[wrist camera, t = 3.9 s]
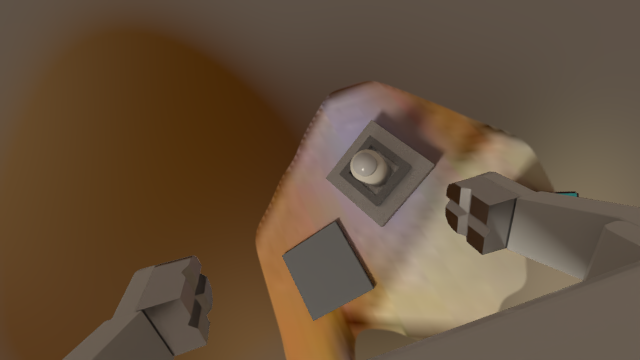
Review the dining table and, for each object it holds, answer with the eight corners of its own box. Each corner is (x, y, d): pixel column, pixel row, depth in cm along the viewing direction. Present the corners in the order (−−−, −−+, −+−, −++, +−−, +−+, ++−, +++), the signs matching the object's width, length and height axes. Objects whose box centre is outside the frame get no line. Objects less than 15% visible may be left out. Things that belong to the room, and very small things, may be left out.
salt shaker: (396, 175, 38) (387, 167, 32) (372, 191, 39) (358, 187, 33) (380, 152, 40) (368, 141, 33) (357, 168, 41) (342, 160, 34)
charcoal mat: (374, 287, 40) (373, 288, 39) (315, 319, 43) (313, 320, 42) (336, 221, 43) (335, 221, 43) (283, 255, 46) (281, 255, 46)
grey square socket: (435, 166, 38) (434, 162, 35) (383, 226, 40) (378, 227, 37) (374, 123, 42) (368, 115, 39) (330, 179, 44) (320, 176, 41)
